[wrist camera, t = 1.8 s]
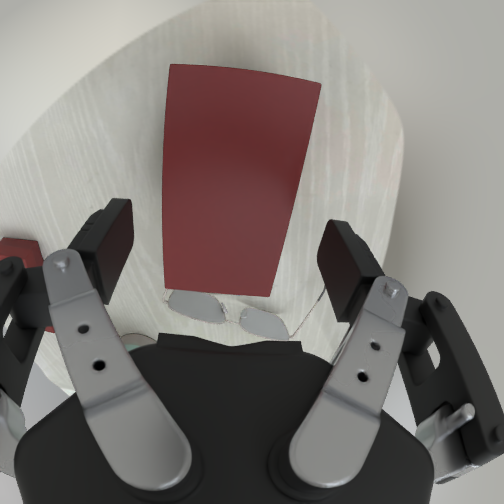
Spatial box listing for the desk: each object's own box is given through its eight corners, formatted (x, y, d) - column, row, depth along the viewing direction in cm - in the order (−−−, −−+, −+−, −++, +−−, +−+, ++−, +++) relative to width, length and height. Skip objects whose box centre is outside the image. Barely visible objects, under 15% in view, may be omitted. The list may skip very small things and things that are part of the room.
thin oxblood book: (177, 64, 11) (169, 63, 9) (312, 81, 11) (322, 83, 10) (168, 271, 18) (164, 289, 16) (267, 279, 18) (269, 297, 17)
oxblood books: (2, 235, 23) (-13, 252, 20) (38, 238, 23) (24, 258, 21) (31, 308, 30) (22, 325, 27) (65, 315, 30) (57, 334, 28)
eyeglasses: (165, 281, 28) (159, 309, 24) (193, 211, 24) (189, 234, 21) (288, 318, 32) (294, 345, 29) (328, 264, 28) (341, 289, 25)
